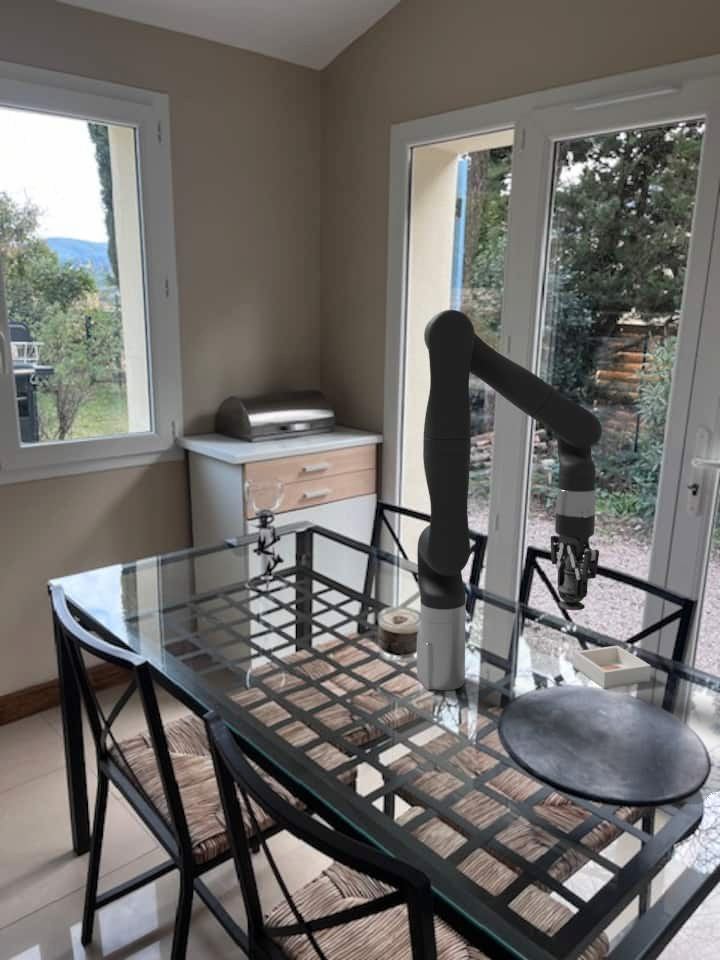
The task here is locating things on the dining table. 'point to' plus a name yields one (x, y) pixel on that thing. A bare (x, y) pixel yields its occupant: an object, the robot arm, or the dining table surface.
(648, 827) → the dining table surface
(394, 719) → the dining table surface
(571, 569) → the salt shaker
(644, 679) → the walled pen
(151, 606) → the dining table surface
